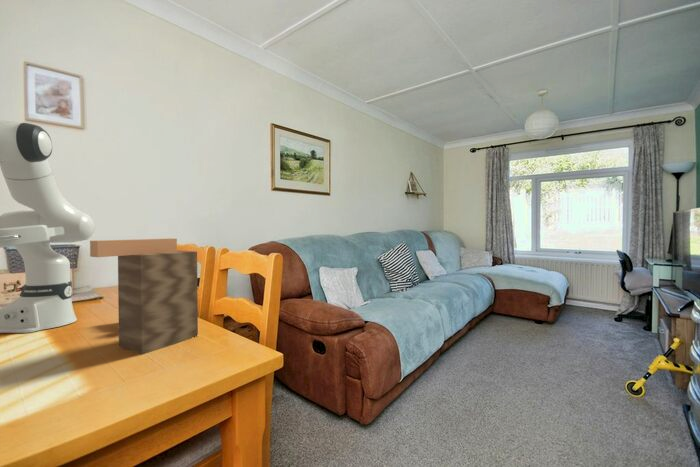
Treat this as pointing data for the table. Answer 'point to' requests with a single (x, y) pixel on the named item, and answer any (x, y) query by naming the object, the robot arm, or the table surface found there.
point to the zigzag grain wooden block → (157, 300)
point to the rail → (131, 247)
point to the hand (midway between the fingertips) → (50, 231)
